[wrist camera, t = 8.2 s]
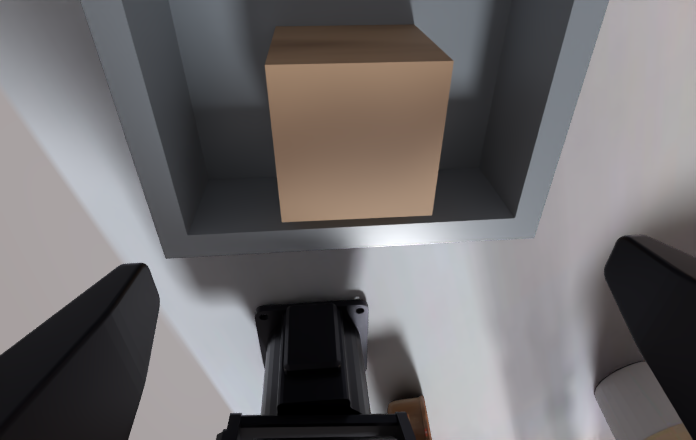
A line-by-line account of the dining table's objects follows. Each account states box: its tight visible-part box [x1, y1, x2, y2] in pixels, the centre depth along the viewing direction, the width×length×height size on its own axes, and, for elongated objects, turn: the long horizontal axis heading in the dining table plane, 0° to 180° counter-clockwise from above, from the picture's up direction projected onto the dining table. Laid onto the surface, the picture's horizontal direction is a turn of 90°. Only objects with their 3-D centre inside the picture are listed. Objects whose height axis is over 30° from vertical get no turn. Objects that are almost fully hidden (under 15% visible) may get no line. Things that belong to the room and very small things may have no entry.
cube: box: [265, 24, 454, 222], centre depth 15 cm, size 5×5×5 cm
